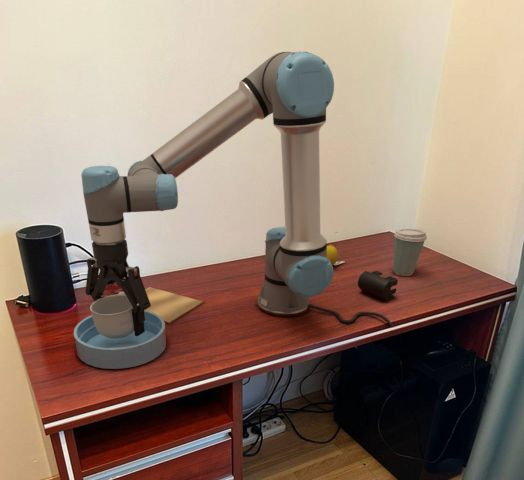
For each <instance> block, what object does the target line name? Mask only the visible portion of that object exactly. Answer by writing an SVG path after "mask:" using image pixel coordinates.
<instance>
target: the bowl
mask: <svg viewBox="0 0 524 480" xmlns="http://www.w3.org/2000/svg"><path fill="white" fill-rule="evenodd" d="M144 314H145V321H144V329H145V332H144V333H142V334H140V335H139V336H135V333H134V331H133V333H132V334H130V335H129V336H127V337H124V338H119V339H111V338H108V337H106V336H103V335H101V334H100V333H99V332H98V331H97V329H96V327H95V324H94V321H93V317H92V314H90V315H89V316H86V317H85V318H83V319H82V320H81V321H79V322H78V323H77V324H76V326H75V327H74V329H73V337H74V344H75V349H76V355H77V357H78V358H79V359H80V360H81V361H82V362H83V363H84V364H86V365H89V366H90V367H91V366H92V367H94V368H100V369H107V370H120V369H128V368H129V369H130V368H134V367H137V366H138V367H139V366H141V365H145V364H148V363H149V362H152V361H154V360H156V359H157V358H158V357H160V356H161V355H162V354H163V353H164V351H165V350H166V347H167V335H166V323H165V322H164V321H163V319H162V318H161V317H160V316H159V315H157V314H155V313H153V312H149V311H146V310H144Z"/></svg>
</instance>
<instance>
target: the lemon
mask: <svg viewBox="0 0 524 480" xmlns="http://www.w3.org/2000/svg"><path fill="white" fill-rule="evenodd" d="M338 257H339V254H338V250H337V248H336V247H335V245H332V244H329V245H327V259H328V260H329V261H330V262H331V264H332V266H335V265H334V264H335V263H336V261H338Z"/></svg>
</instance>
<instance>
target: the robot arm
mask: <svg viewBox="0 0 524 480" xmlns="http://www.w3.org/2000/svg"><path fill="white" fill-rule="evenodd" d="M334 92H335V81H334V75H333V72H332V70H331V68H330V66H329V64H327V62H326V61H325V60H324V59H323V58H321V57H320V56H319V55H318V54H317V55H316V54H315V53H312V52H309V51H281V52H278V53H275V54H273V55H272V56H270V57H269V58H267V59H266V60H264V62H262V63H261V64H260V65H259V66H258V67H256V68H255V69H253V70H252V72H250V73H249V74H248V75H247V76H245V77H244V78H243V79H242V80H240V81H239V83H238V88H237V89H236V90H235V91H234V92H232V93H231V94H229V95H228V96H227V97H225V98H224V99H222V100H221V101H220V102H219V103H218V104H216V105H215V106H213V107H212V108H211V109H209V110H208V111H207V112H205V113H204V114H203V115H201V116H200V117H199V118H197V119H196V120H195V121H193V122H192V123H191V124H190V125H188V126H187V127H186V128H184V129H183V130H182V131H180V132H179V133H177V134H176V135H174V137H172V138H171V139H170V140H168V141H166V142H165V143H164V144H163V145H161V146H160V147H159V148H157V149H156V150H155V151H154V152H152V153H151V154H150V155H148V156H147V157H145V158H144V159H143V160H138V161H135V162H133V163H132V164H131V165H130V166H129V168H128V171H127V175H120V173H119V171H118V168H116V167H115V166H112V165H92V166H88V167H86V168H84V169H83V170H82V171H81V175H80V176H81V184H82V185H81V186H82V193H83V199H84V205H85V208H86V209H85V210H86V215H87V221H88V228H89V235H90V239H91V241H92V242H91V247H92V253H93V256H92V257H90V258H88V259H86V265H87V273H86V274H87V275H86V281H85V295H87V296H90V297H91V298H92V300H93V302H95V301H96V300H98V299H100V298H103V297H105V296H104V295H105V293H104V292H105V291H106V288H107V285H108V284H109V281H113V282H114V283H116V284H117V286H119V287H120V288H121V290H122V292H124V293H125V295H126V296H127V298H128V300H129V301H130V303H131V305H132V307H133V308H134V310H133V311H132V317H133V325H134V333H135V336H139V335H140V334H142V333H144V332H145V329H144V321H145V314H144V310H146V309H147V308H149V307H151V304H150V301H149V299H148V296H147V293H146V290H145V289H146V288H145V286H144V283H143V280H142V277H141V271H140V267H139V266H138V265H136V266H134V267H133V266H130V265H129V263H128V261H127V259H128V256H129V249H128V241H127V240H126V239H127V232H126V226H125V218H124V217H125V216H124V214H125V213H128V214H129V213H143V212H146V213H147V212H165V211H169V210H175V209H176V208H177V207H178V205H179V192H178V183H177V178H178V177H179V176H181V175H183V174H184V173H185V172H186V171H188V170H189V169H190V168H192V167H194V166H195V165H196V164H197V163H199V162H200V161H202V159H204V158H205V157H206V156H208V155H210V154H211V153H212V152H213V151H215V150H216V149H217V148H218V147H220V146H221V145H223V144H224V143H226V142H227V141H229V140H230V139H231V138H233V137H234V136H235V135H236V134H238V133H240V131H242V130H243V129H245V128H246V127H247V126H249V125H250V124H251V123H253V122H254V121H255V120H264V119H266V118H267V117H268V116H270V115H271V114H272V124H273V125H272V126H274V127H275V128H276V129H277V130H278V131H279V133H280V146H281V147H280V148H281V150H280V151H281V168H282V189H283V208H284V209H283V210H284V211H283V212H284V226H278V227H277V226H276V227H272V228H269V229H268V230H267V232H266V234H265V240H264V243H265V250H264V252H265V255H264V258H265V260H264V281H263V283H262V286H261V289H260V291H259V294H258V297H257V307H258V309H259V310H260V311H261V312H264V313H265V314H268V315H271V316H276V317H283V318H284V317H285V318H286V317H297V316H300V315H303V314H305V313H307V312H308V311H309V310H310V308H311V309H314V310H317V311H322V312H325V313H329V314H332V315H335V316H336V317H337V318H338V320H339V322H340V323H344V324H351V323H354V322H355V321H356V319H357V318H358V317H359V316H362V315H364V316H374V317H378V318H381V319H382V320H383V321H384V322H386V323H387V325H388V326H389V327H390V328H394V327H395V325H394V324H393V323H392V322H391V321H390V320H389V318H387V317H386V316H384V315H383V314H381V313H379V312H374V311H358V312H357V313H356V314H355V315H353V317H352V318H350V319H343V318H342V315H341V314H340V313H339V312H337V311H335V310H332V309H328V308H324V307H321V306H317V305H314V304H311V301H310V298H313V297H316V296H319V295H320V294H322V293H323V292H325V290H326V289H327V288H328V287H329V286H330V285H331V283H332V281H333V278H334V272H335V271H334V267H333V266H334V265H332V264H331V262H330V261H329V260H328V259H327V246H328V244H327V243H328V241H327V238H326V237H325V236H324V235H323V234H322V233H321V184H320V183H321V175H320V172H321V169H320V166H321V165H320V163H321V161H320V160H321V159H320V130H321V128H322V127H323V126H324V125H325V124H326V122H327V108H328V106H329V104H330V103H331V102H332V100H333V97H334ZM137 304H138V305H137Z"/></svg>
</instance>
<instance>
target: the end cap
mask: <svg viewBox="0 0 524 480" xmlns="http://www.w3.org/2000/svg"><path fill="white" fill-rule="evenodd" d="M398 281H399V280H398V278H396V277H393V276H391V275H389V276H386V277H383V272H381V271H378V270H373V271H371V272H370V271H367V270H365V271H363V272H362V273H361V274H360V276H359V278H358V279H357V287H358V289H359V290H360V291H362V292H363V293H366V294H368V295H370V296H373V297H375V298H378V299H380V300H381V301H385V302H387V301H389V300H392V299H394V298H395V294H396V292H397V287H395V288H392V287H394V286H397V285H398Z"/></svg>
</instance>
